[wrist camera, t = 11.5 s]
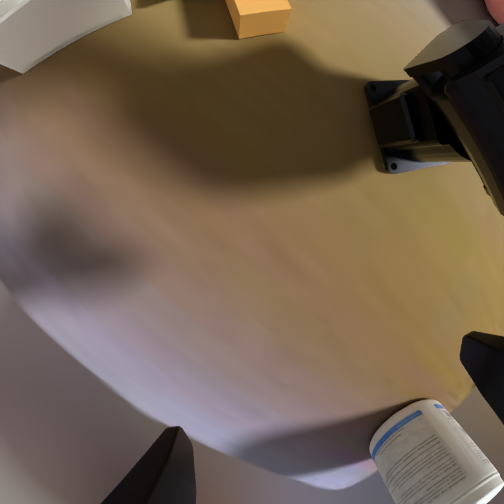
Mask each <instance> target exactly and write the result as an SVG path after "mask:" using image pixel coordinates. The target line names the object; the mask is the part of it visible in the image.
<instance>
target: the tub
mask: <svg viewBox="0 0 504 504" xmlns="http://www.w3.org/2000/svg"><path fill="white" fill-rule="evenodd" d="M130 15H132V10H131V3H130V0H0V65H3V66H5V67H8V68H10V69H13V70H15V71H17V72H20V73H22V74H24V73H25V72H27V71H28V70H29V69H31V68H32V67H34V66H35V65H37V64H38V63H40V62H41V61H43V60H44V59H46V58H47V57H49V56H51V55H52V54H54V53H55V52H57V51H59V50H60V49H62V48H64V47H66V46H67V45H69V44H71V43H73V42H75V41H76V40H78V39H80V38H82V37H84V36H86V35H88V34H90V33H92V32H94V31H96V30H98V29H100V28H102V27H104V26H106V25H109V24H111V23H113V22H115V21H118V20H120V19H123V18H125V17H127V16H130Z"/></svg>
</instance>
